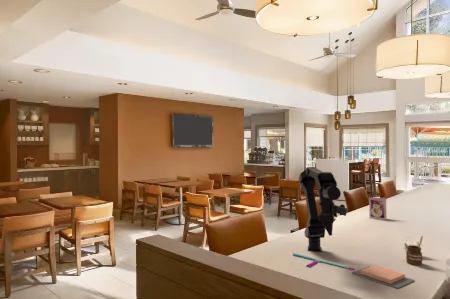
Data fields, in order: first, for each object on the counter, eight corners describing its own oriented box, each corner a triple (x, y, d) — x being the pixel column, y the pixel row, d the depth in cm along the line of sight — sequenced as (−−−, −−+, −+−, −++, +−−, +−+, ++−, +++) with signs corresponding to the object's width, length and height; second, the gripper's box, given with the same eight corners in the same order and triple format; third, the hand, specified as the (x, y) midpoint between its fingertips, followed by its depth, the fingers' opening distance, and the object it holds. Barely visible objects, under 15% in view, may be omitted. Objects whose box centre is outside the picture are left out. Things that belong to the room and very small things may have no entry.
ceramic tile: (360, 270, 127) (390, 279, 117) (375, 264, 133) (404, 273, 123) (360, 274, 127) (391, 284, 117) (375, 268, 133) (404, 278, 123)
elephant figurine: (417, 252, 155) (416, 237, 155) (424, 258, 146) (424, 243, 146) (399, 251, 157) (399, 236, 157) (406, 257, 148) (405, 242, 148)
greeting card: (368, 218, 235) (368, 197, 235) (373, 216, 240) (373, 196, 240) (385, 220, 227) (385, 199, 227) (389, 219, 232) (389, 198, 232)
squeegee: (282, 257, 146) (294, 252, 153) (282, 261, 146) (294, 255, 153) (344, 274, 126) (354, 268, 133) (344, 279, 126) (354, 272, 133)
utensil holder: (404, 260, 144) (404, 233, 144) (420, 261, 142) (420, 234, 143) (408, 264, 139) (407, 236, 139) (424, 266, 137) (424, 237, 137)
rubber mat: (352, 273, 129) (352, 272, 129) (369, 267, 136) (369, 266, 136) (397, 288, 114) (397, 287, 114) (414, 281, 121) (414, 279, 121)
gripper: (343, 199, 134) (348, 237, 132) (346, 198, 151) (350, 232, 149) (316, 201, 138) (320, 238, 136) (321, 199, 155) (325, 232, 153)
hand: (330, 235), depth 143 cm, fingers closed
